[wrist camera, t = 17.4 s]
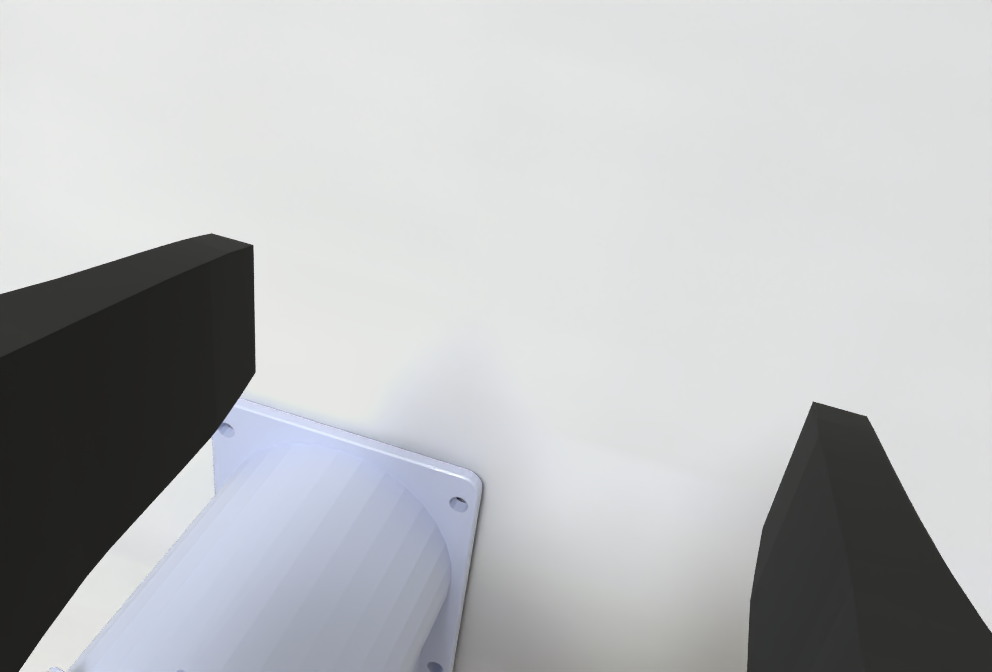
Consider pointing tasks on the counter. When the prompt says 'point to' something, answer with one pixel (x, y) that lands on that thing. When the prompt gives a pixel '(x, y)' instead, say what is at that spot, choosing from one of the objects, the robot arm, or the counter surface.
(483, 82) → the counter surface
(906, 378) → the counter surface
